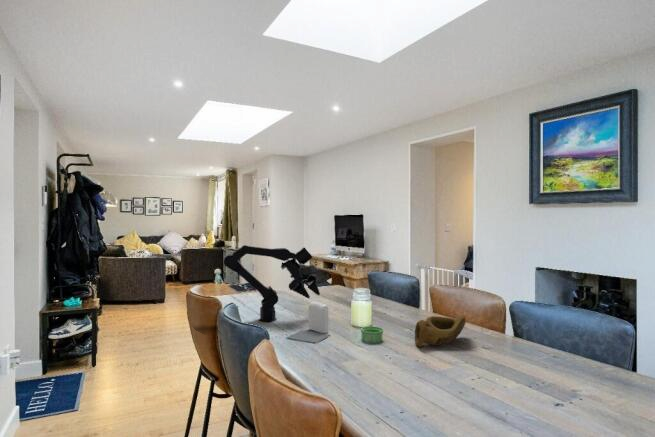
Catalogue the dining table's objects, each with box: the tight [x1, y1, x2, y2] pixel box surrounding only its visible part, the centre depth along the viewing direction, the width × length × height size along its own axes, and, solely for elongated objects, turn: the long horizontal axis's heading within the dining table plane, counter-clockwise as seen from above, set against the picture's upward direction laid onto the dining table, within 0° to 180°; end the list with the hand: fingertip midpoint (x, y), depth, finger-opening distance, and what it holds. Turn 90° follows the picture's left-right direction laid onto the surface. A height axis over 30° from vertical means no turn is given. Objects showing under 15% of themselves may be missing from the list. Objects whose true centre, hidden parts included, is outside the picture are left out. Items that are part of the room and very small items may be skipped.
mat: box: [285, 329, 331, 344], centre depth 161 cm, size 14×12×1 cm
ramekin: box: [360, 325, 384, 344], centre depth 158 cm, size 9×9×4 cm
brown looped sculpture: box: [414, 315, 467, 348], centre depth 154 cm, size 18×13×22 cm
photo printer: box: [308, 301, 330, 334], centre depth 171 cm, size 10×4×12 cm, turn 39°
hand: (314, 296), depth 184 cm, fingers open, 9 cm apart
